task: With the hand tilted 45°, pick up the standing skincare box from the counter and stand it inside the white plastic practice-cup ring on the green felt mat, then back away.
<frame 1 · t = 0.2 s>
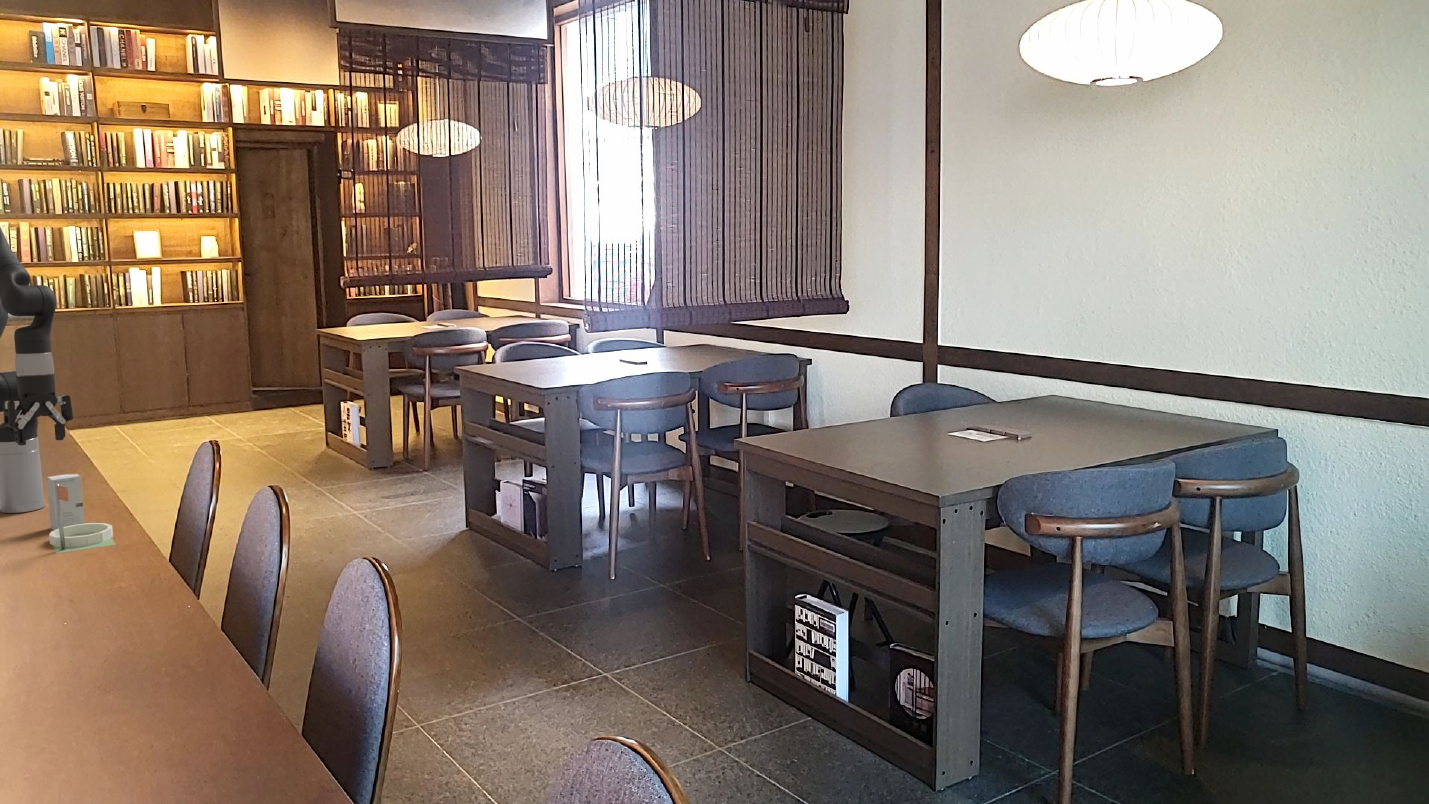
hand: (40, 442, 255), 18 cm above the table, tool pointing down, fingers open, 8 cm apart
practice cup: (82, 539, 238), resting on felt mat
felt mat: (82, 541, 238), on the table
skincare box: (68, 529, 248), on the table
pin flag: (63, 549, 231), resting on felt mat
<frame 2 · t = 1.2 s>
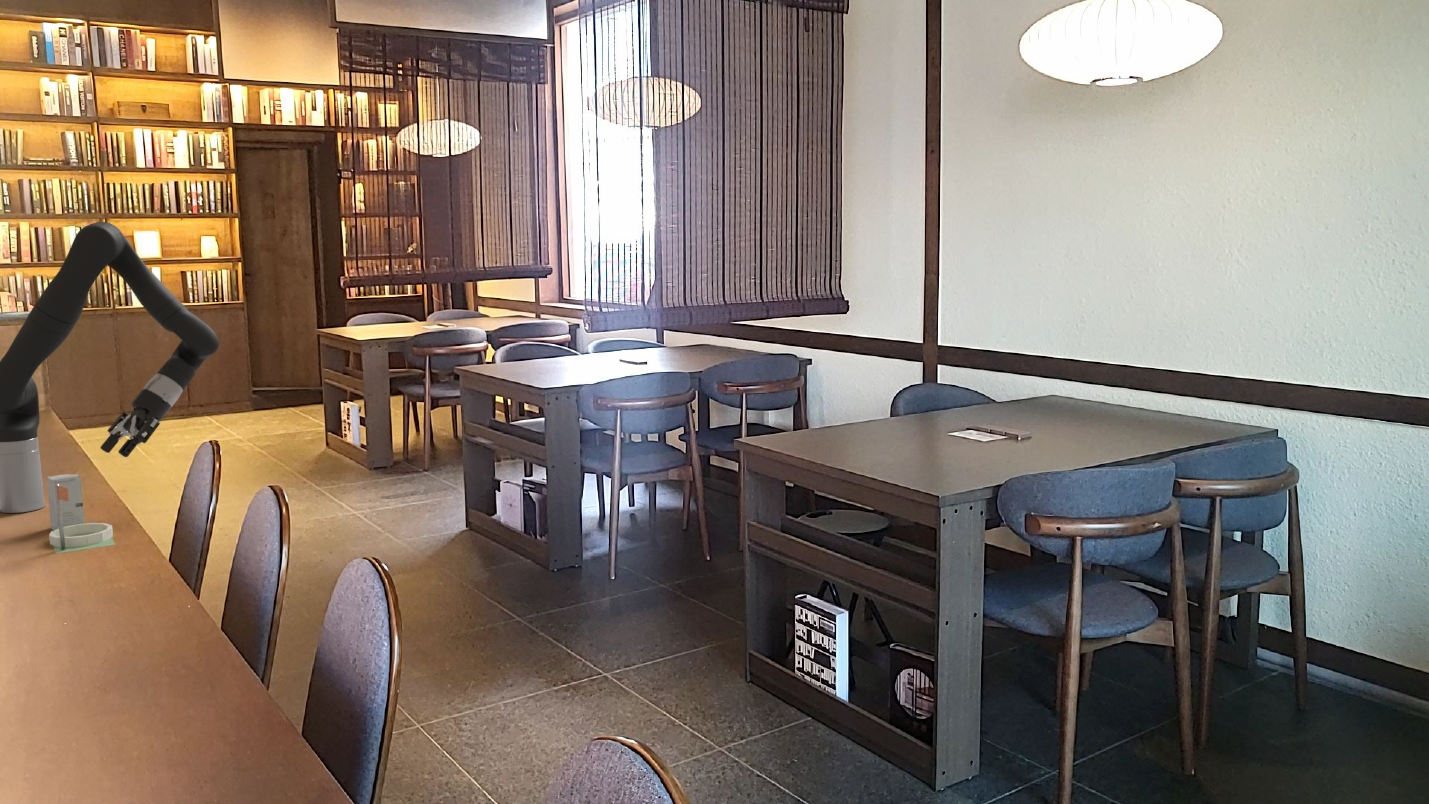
hand: (113, 452, 255), 15 cm above the table, tool tilted 45°, fingers open, 8 cm apart
nothing on the table moved.
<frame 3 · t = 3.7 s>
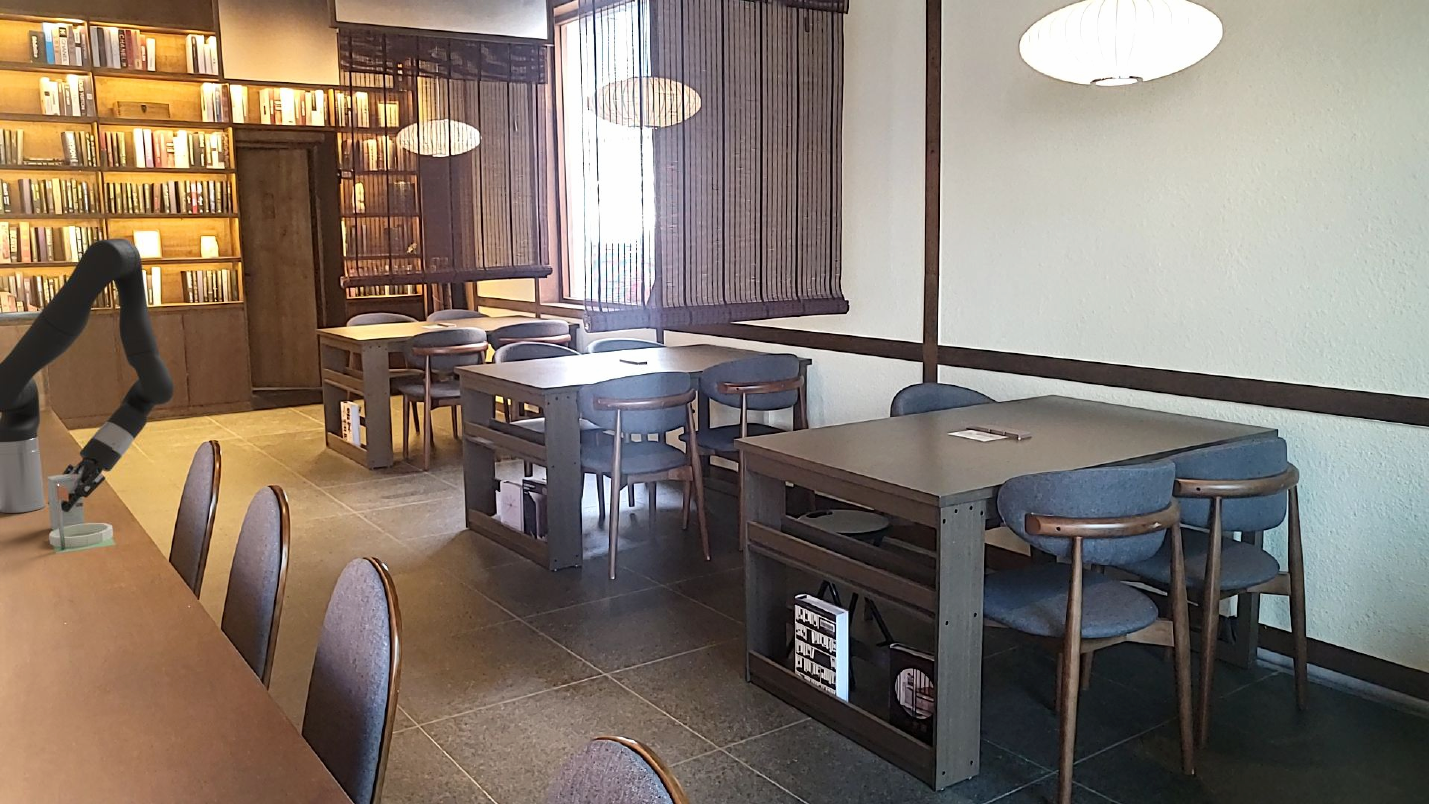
hand: (57, 507, 246), 5 cm above the table, tool tilted 45°, fingers closed on skincare box, 5 cm apart
skincare box: (68, 529, 248), on the table, touching gripper
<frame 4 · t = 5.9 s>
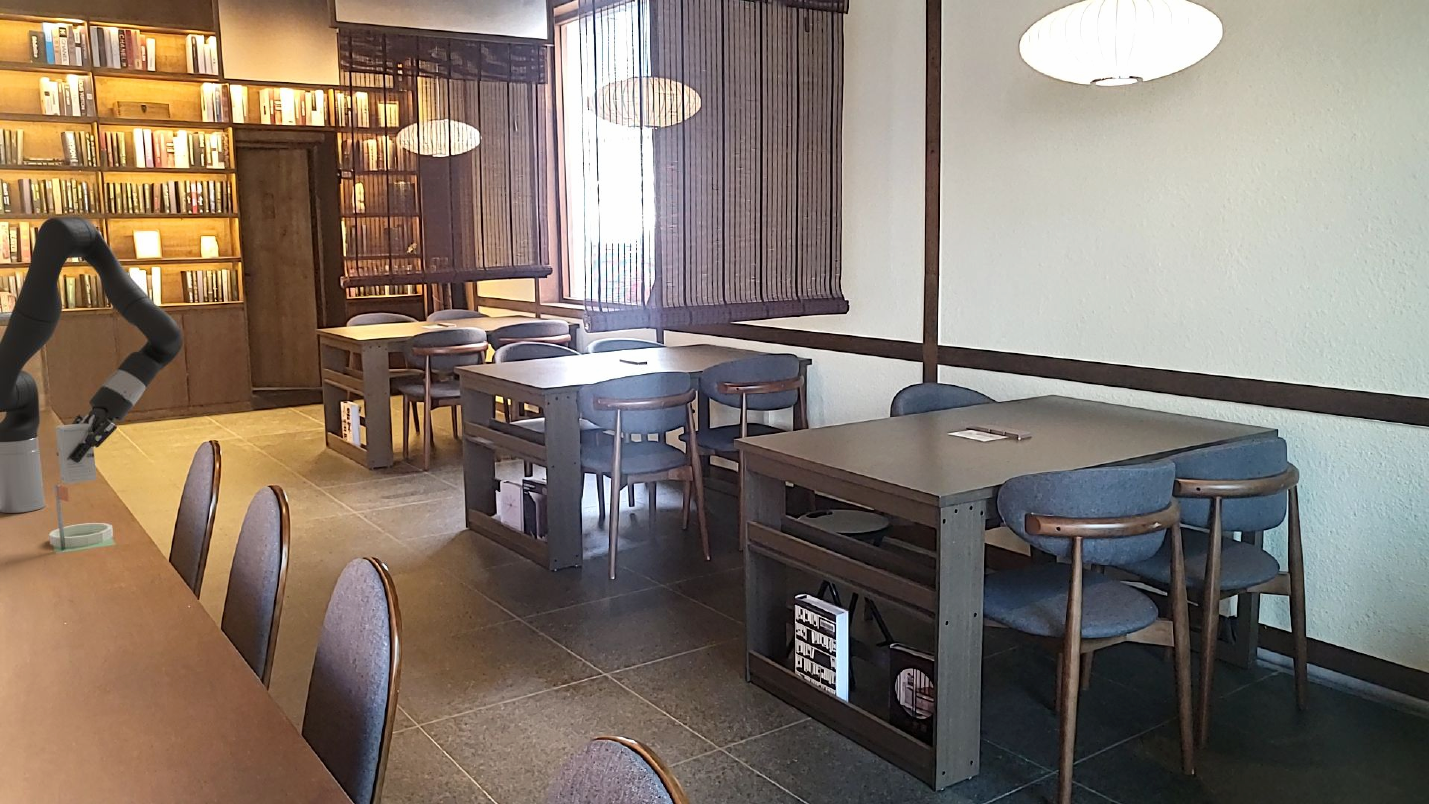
hand: (67, 458, 235), 18 cm above the table, tool tilted 45°, fingers closed on skincare box, 4 cm apart
skincare box: (79, 481, 237), point 13 cm above the table, touching gripper
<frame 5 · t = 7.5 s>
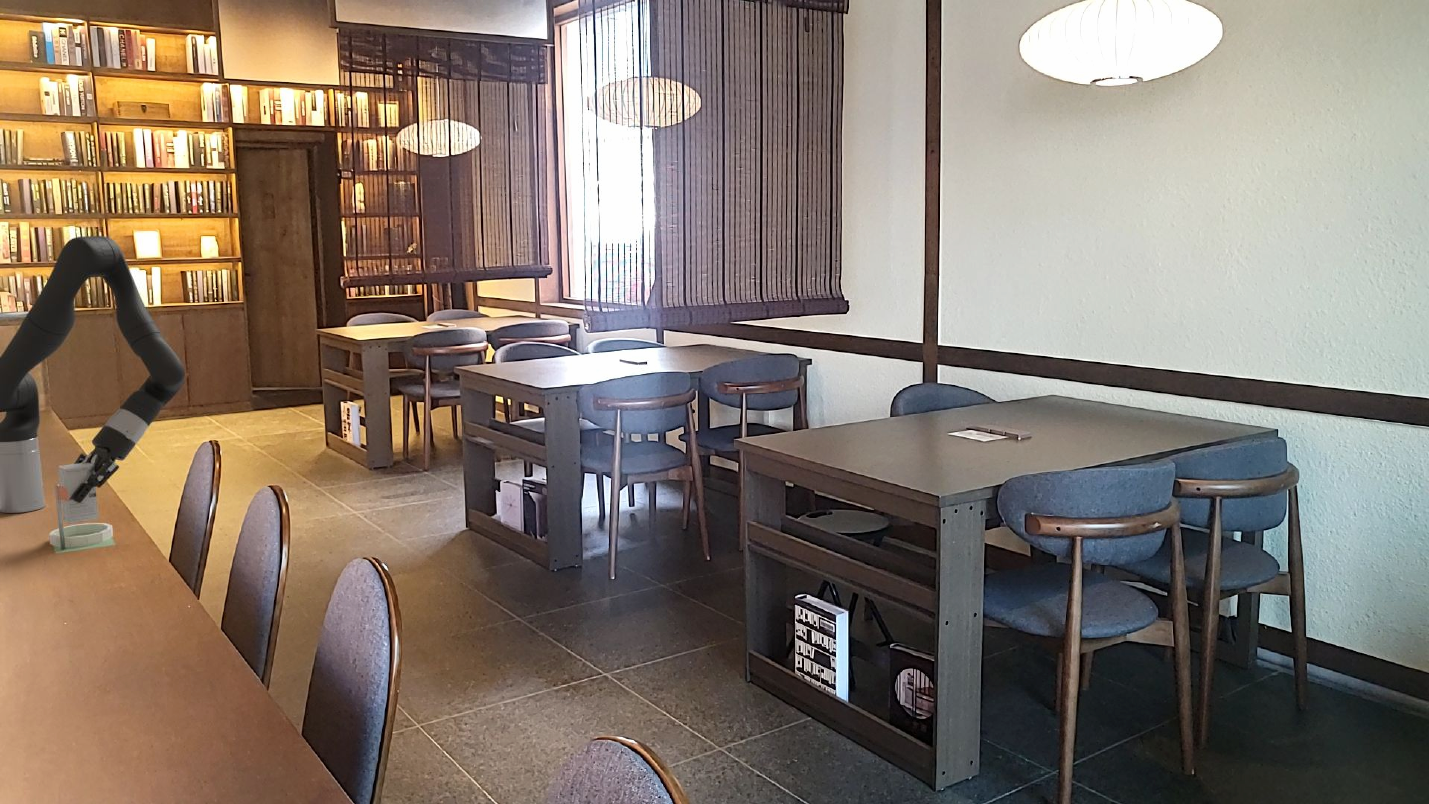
hand: (69, 498, 235), 10 cm above the table, tool tilted 45°, fingers closed on skincare box, 4 cm apart
skincare box: (81, 521, 238), point 4 cm above the table, touching gripper
when the fingers open (7 cm above the table, at t = 8.5 s): skincare box drops 2 cm, resting on felt mat.
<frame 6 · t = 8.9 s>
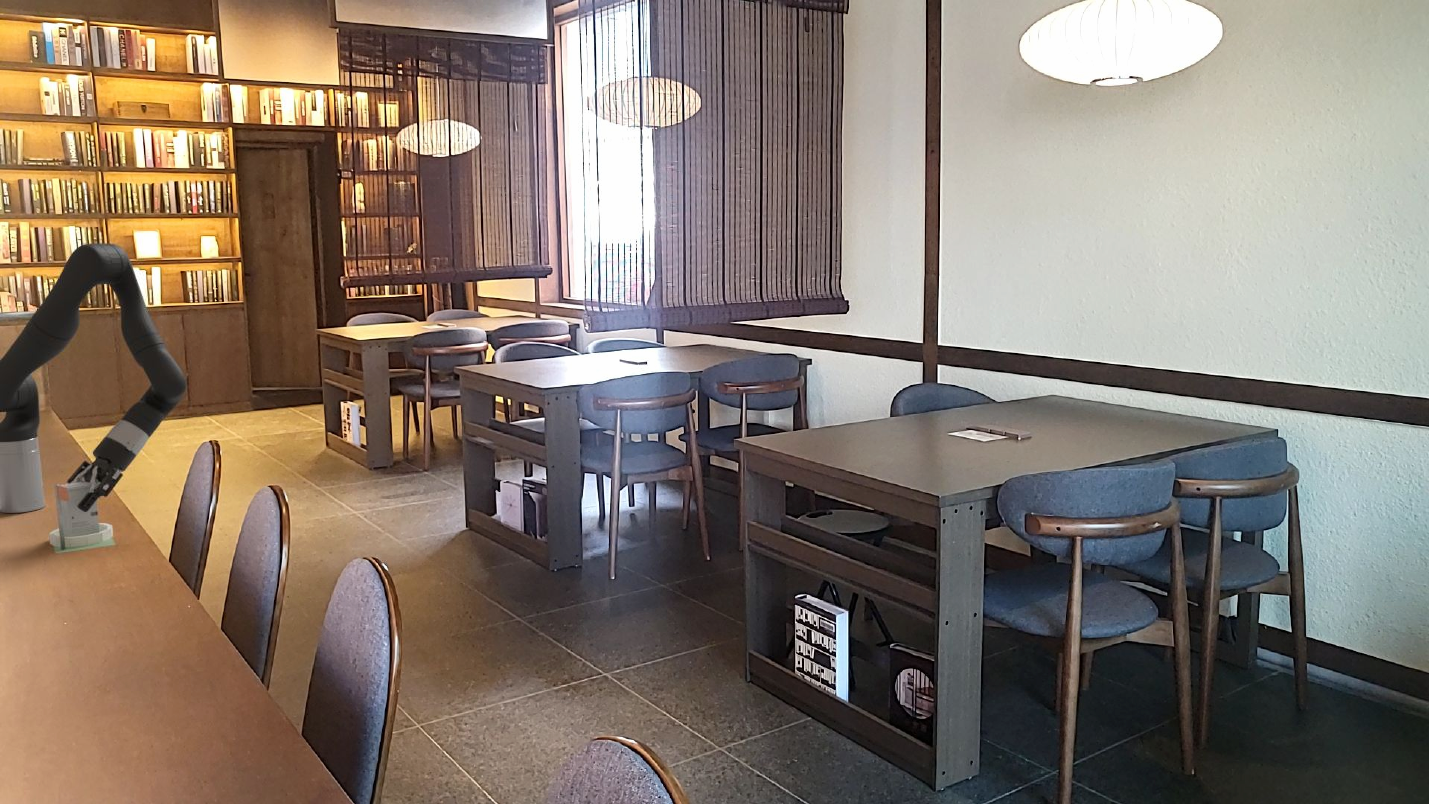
hand: (72, 507, 236), 8 cm above the table, tool tilted 45°, fingers open, 8 cm apart
skincare box: (82, 539, 239), resting on felt mat
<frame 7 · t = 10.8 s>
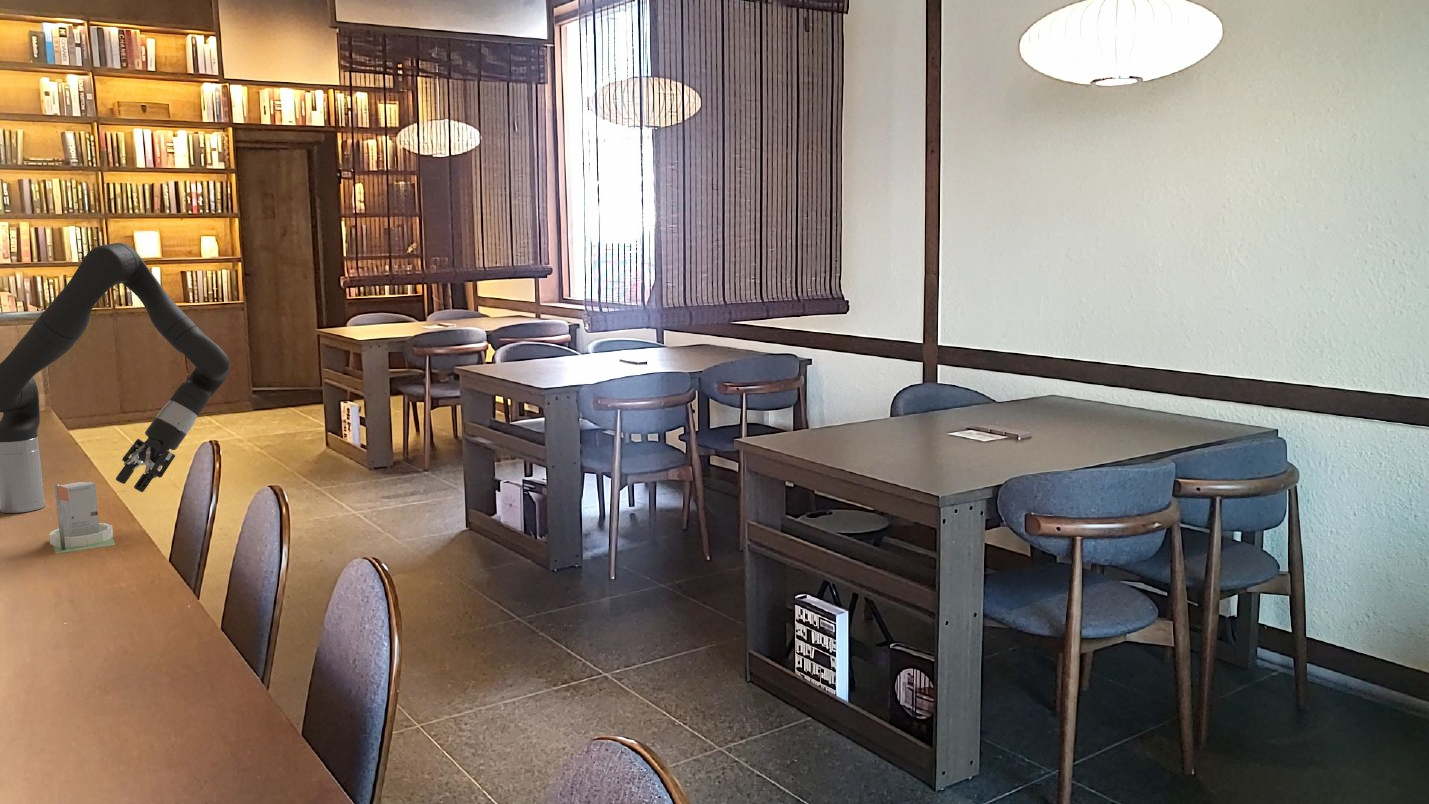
hand: (128, 486, 247), 10 cm above the table, tool tilted 40°, fingers open, 8 cm apart
nothing on the table moved.
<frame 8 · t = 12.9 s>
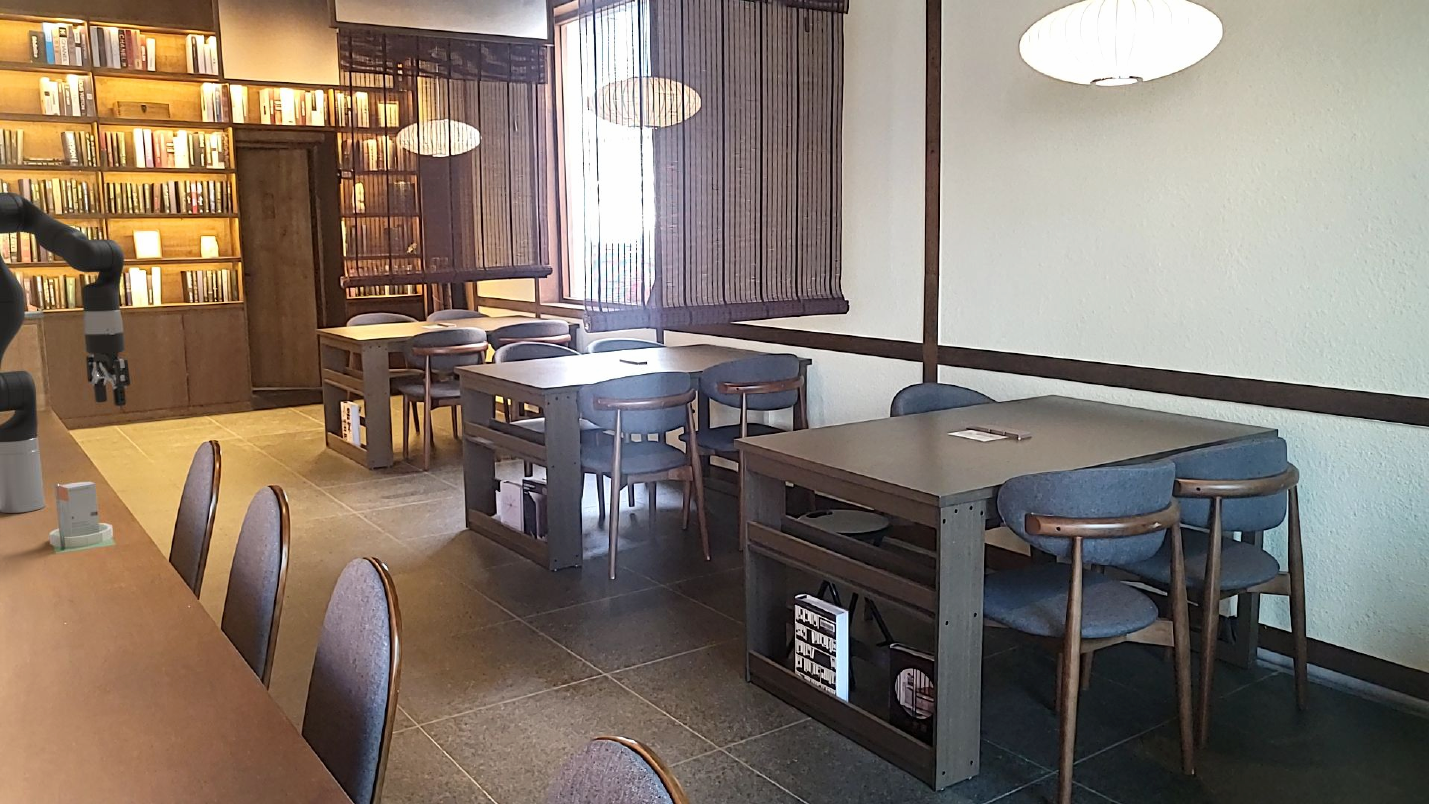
hand: (110, 403, 246), 28 cm above the table, tool pointing down, fingers open, 8 cm apart
nothing on the table moved.
at the end: skincare box 0.3 cm from the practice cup (horizontally); skincare box tilted 0°; the gripper is holding nothing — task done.
